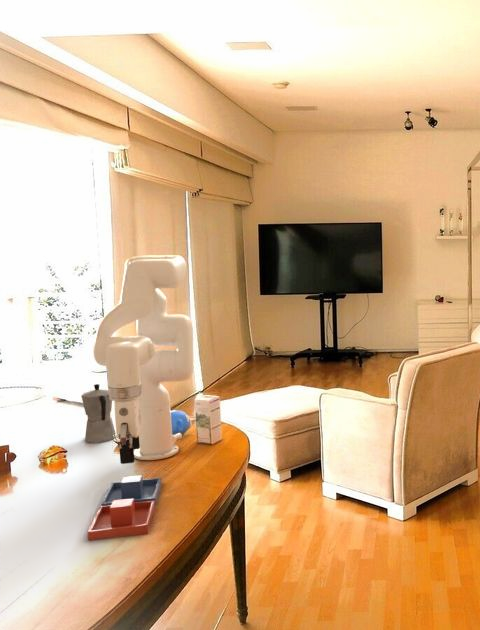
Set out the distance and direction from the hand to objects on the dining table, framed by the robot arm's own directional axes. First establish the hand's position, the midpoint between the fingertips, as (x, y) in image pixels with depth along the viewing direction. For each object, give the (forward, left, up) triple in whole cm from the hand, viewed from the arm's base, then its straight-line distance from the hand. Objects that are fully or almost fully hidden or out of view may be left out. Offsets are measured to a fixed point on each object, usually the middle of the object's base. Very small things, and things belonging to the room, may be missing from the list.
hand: (130, 455), depth 173 cm
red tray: (+16, +11, -10) cm, 22 cm away
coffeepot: (-32, -42, -10) cm, 54 cm away
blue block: (+3, +3, -9) cm, 10 cm away
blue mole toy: (-44, -20, -10) cm, 50 cm away
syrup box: (-41, -7, -10) cm, 43 cm away
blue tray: (+3, +3, -10) cm, 11 cm away
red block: (+16, +11, -9) cm, 21 cm away
